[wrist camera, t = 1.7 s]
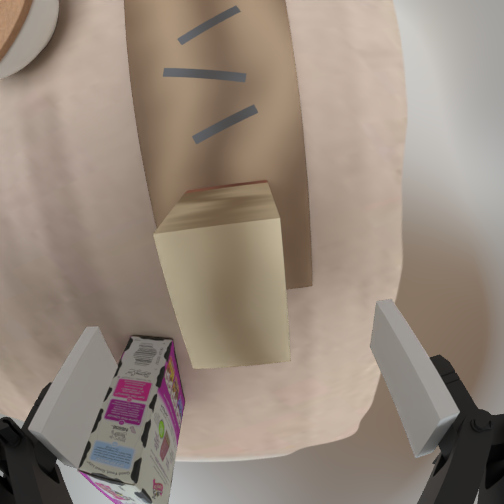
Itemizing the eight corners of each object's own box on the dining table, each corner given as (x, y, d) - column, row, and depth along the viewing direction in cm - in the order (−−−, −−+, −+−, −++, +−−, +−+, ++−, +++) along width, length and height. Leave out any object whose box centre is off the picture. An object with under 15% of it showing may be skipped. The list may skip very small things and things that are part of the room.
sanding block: (207, 293, 26) (193, 369, 18) (186, 190, 22) (152, 234, 14) (277, 285, 26) (290, 360, 17) (266, 179, 22) (279, 217, 14)
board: (177, 296, 27) (176, 300, 26) (126, -29, 14) (123, -32, 14) (310, 281, 26) (312, 286, 26) (272, -54, 14) (272, -59, 13)
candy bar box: (127, 333, 29) (73, 469, 14) (173, 336, 29) (136, 486, 14) (148, 398, 33) (121, 511, 18) (186, 402, 34) (169, 521, 19)
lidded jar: (-6, 98, 18) (-73, 107, 9) (2, 10, 13) (-57, -2, 5) (76, 63, 18) (3, 50, 9) (84, -33, 13) (30, -70, 5)
